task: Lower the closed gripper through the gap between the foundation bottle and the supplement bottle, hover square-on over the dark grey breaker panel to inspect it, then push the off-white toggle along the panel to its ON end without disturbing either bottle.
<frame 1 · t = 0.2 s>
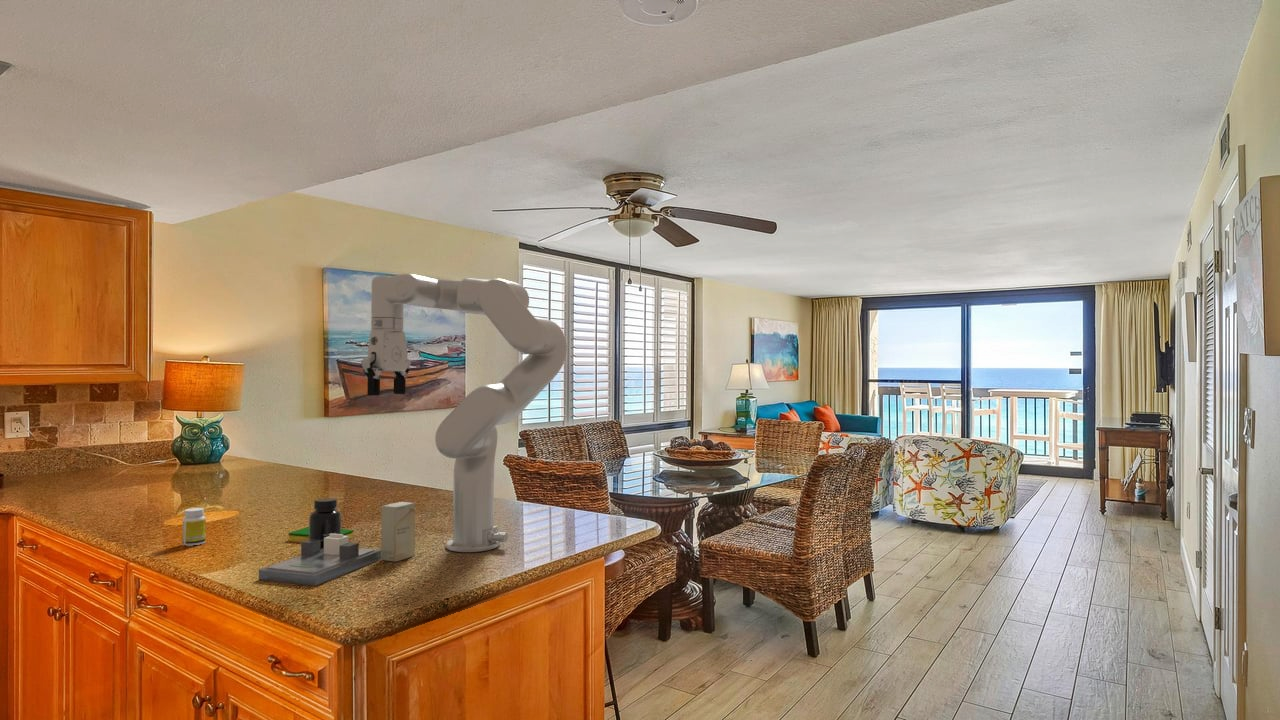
hand: (386, 394, 173), 36 cm above the worktop, tool pointing down, fingers open, 9 cm apart
supplement bottle 2: (194, 544, 169), on the worktop
skincare box: (398, 558, 157), on the worktop
supplement bottle: (324, 551, 163), on the worktop
breaker panel: (323, 568, 148), on the worktop
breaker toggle: (336, 543, 152), point 4 cm above the worktop, slide at 0.0 cm
dish sponge: (321, 541, 174), on the worktop
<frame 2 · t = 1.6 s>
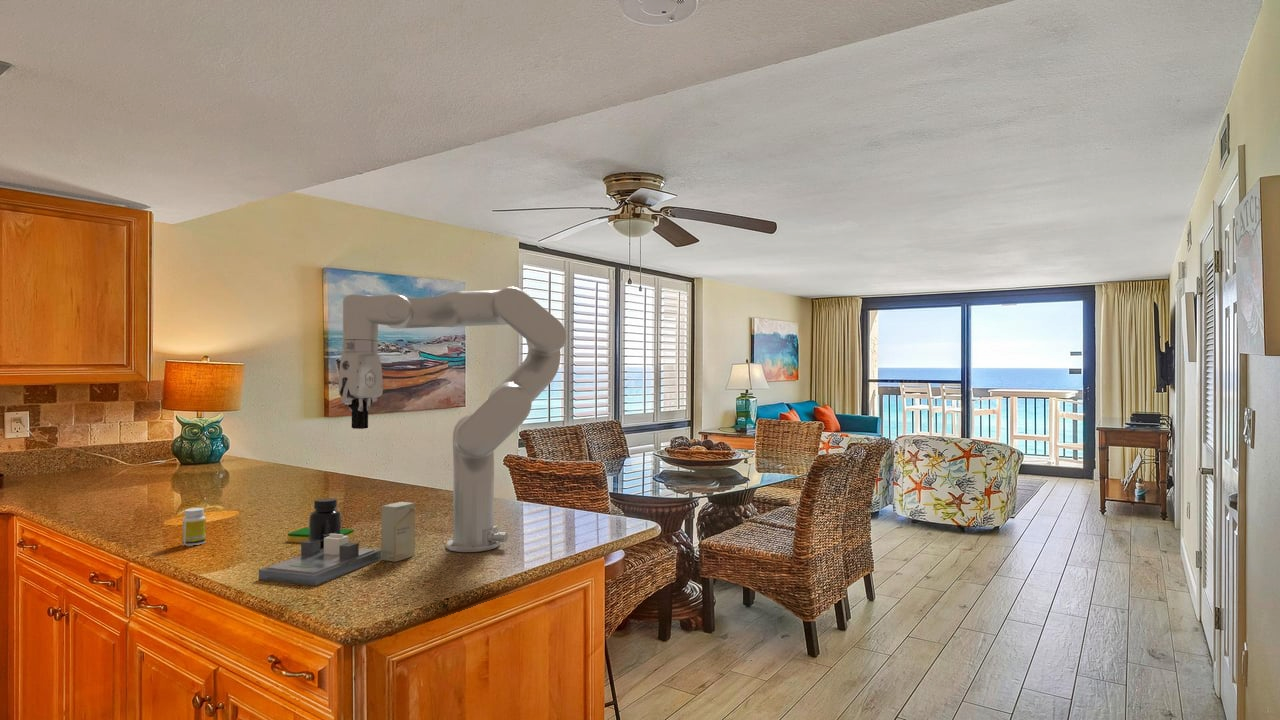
hand: (359, 428, 159), 29 cm above the worktop, tool pointing down, fingers closed
nothing on the worktop moved.
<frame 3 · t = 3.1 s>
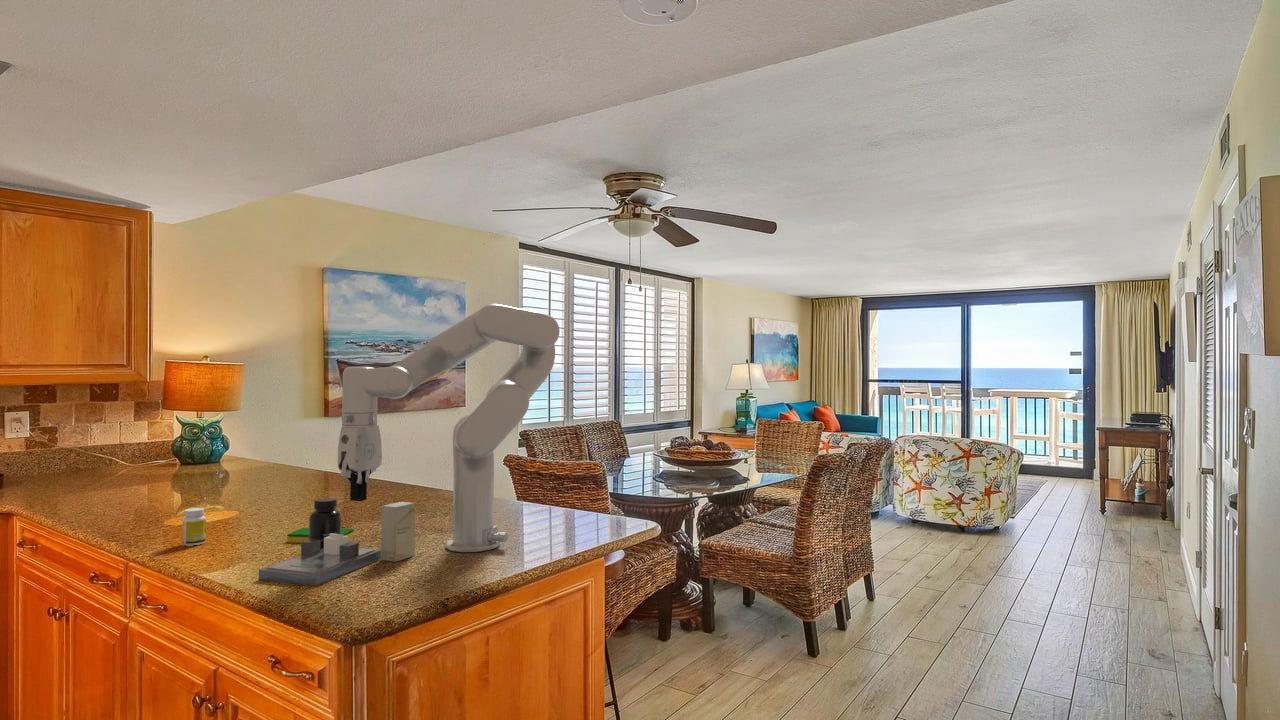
hand: (358, 500, 159), 13 cm above the worktop, tool pointing down, fingers closed
nothing on the worktop moved.
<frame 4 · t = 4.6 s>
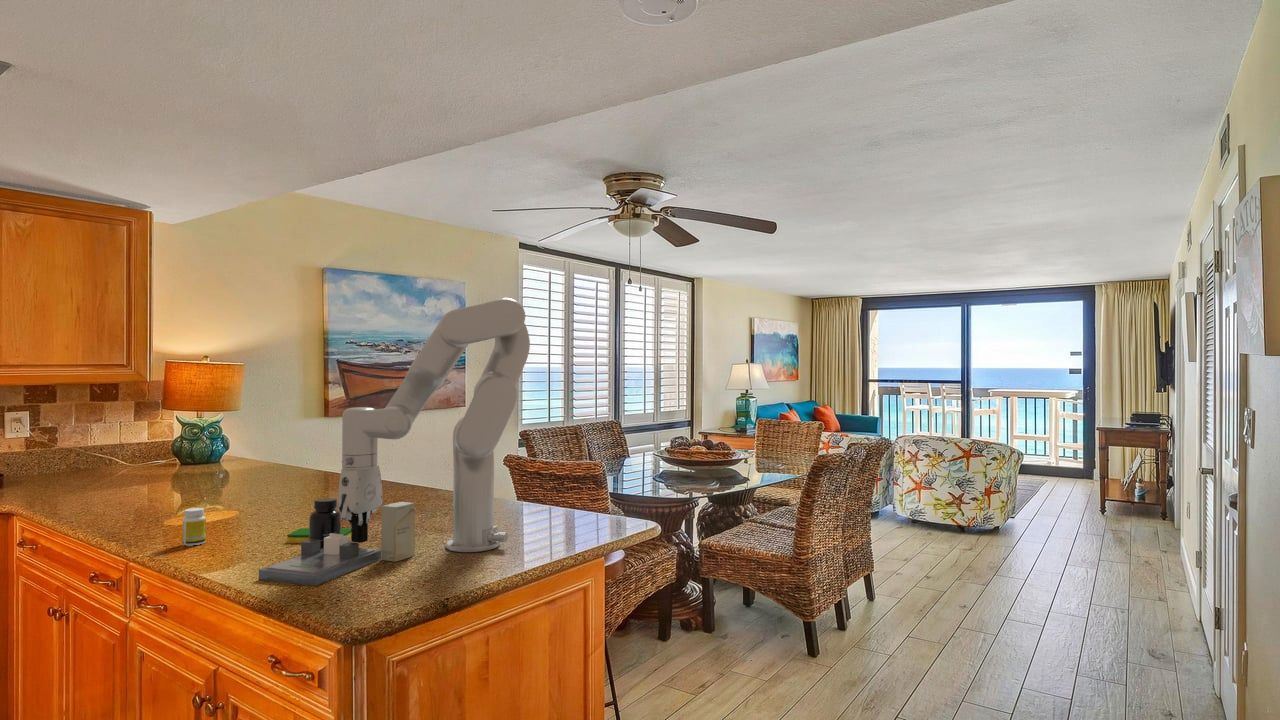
hand: (359, 541, 159), 3 cm above the worktop, tool pointing down, fingers closed
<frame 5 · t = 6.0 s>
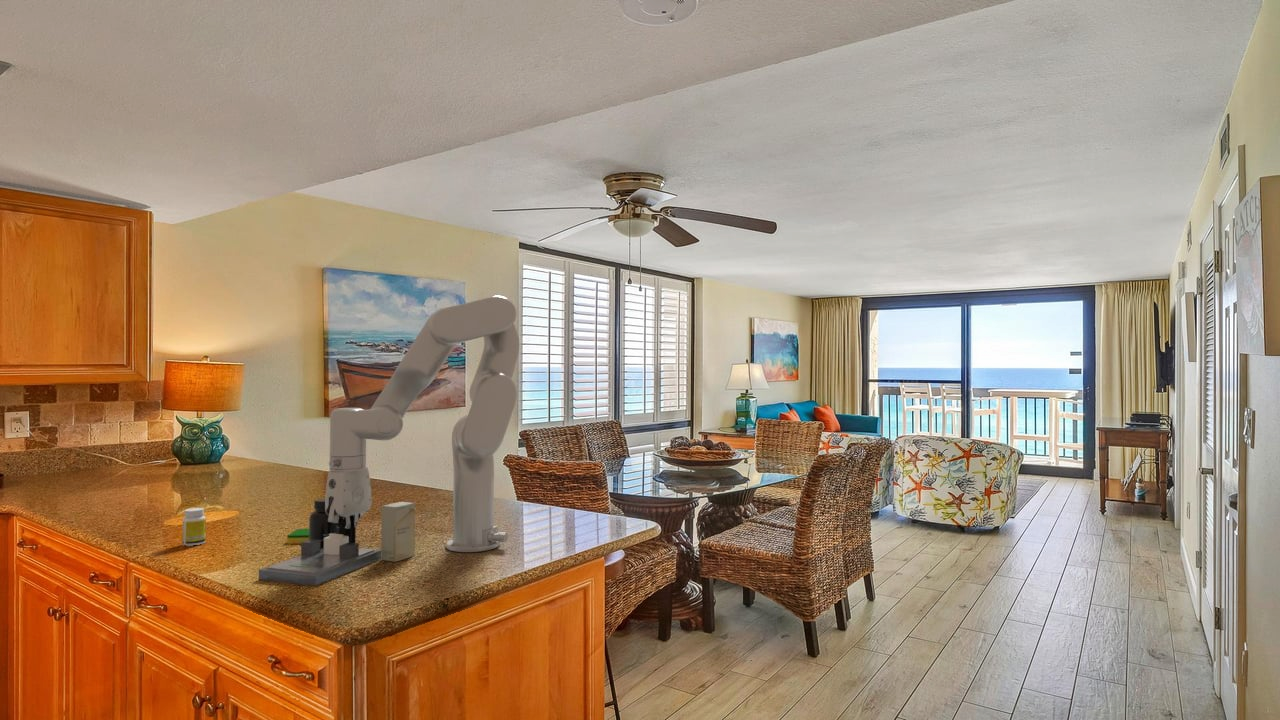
hand: (347, 544, 155), 3 cm above the worktop, tool pointing down, fingers closed
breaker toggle: (336, 543, 152), point 4 cm above the worktop, slide at 0.0 cm, touching gripper
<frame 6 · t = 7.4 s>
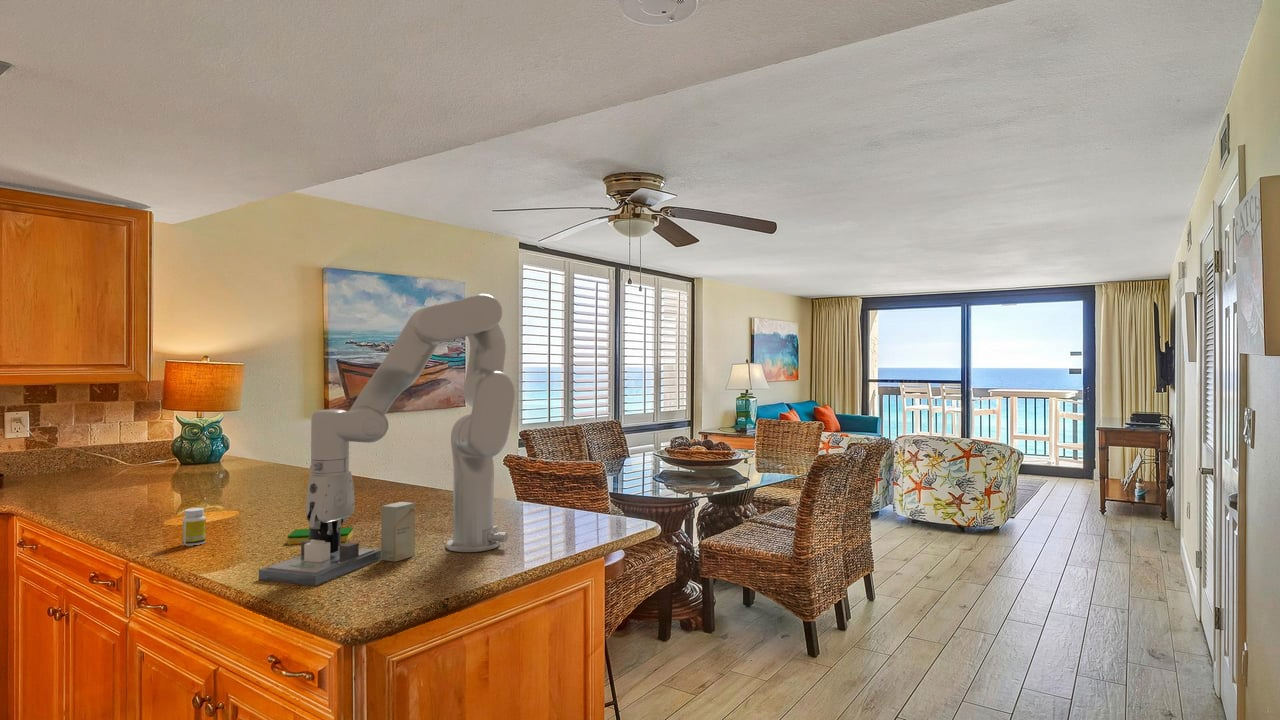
hand: (329, 551, 150), 3 cm above the worktop, tool pointing down, fingers closed
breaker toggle: (317, 550, 147), point 4 cm above the worktop, slide at 5.7 cm, touching gripper
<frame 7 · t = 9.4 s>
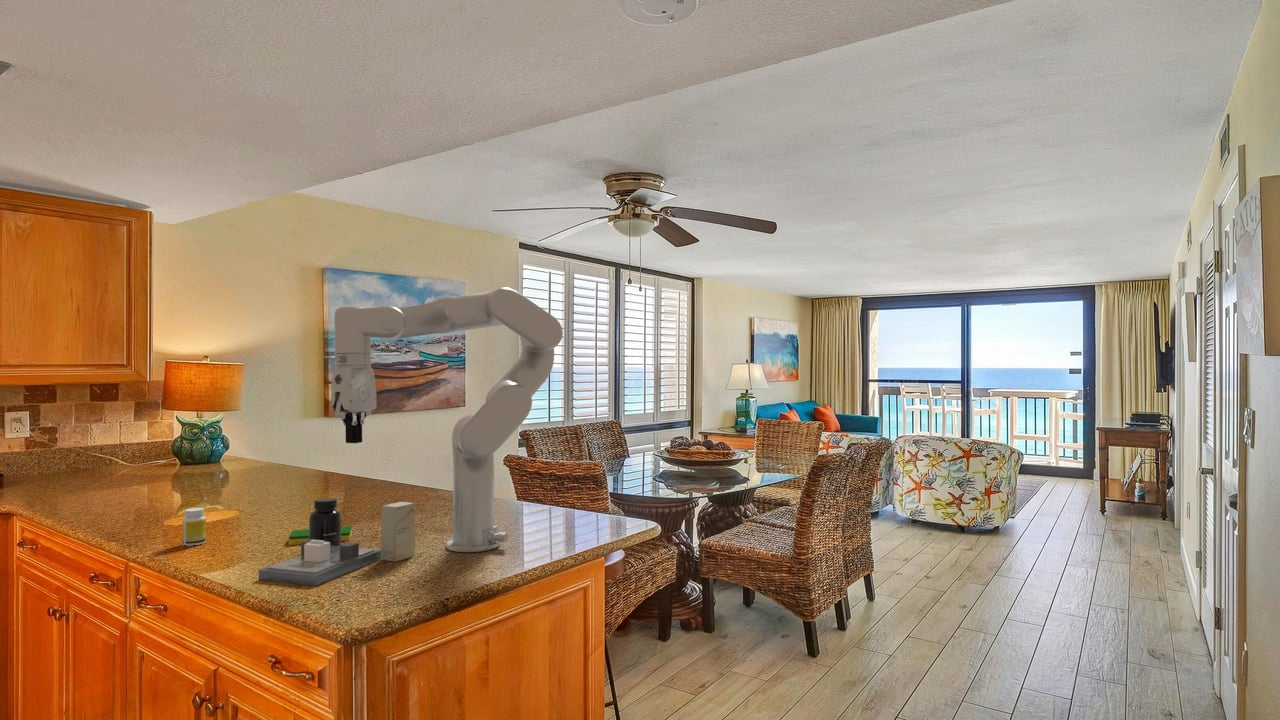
hand: (354, 442, 157), 26 cm above the worktop, tool pointing down, fingers closed
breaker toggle: (317, 550, 147), point 4 cm above the worktop, slide at 5.7 cm
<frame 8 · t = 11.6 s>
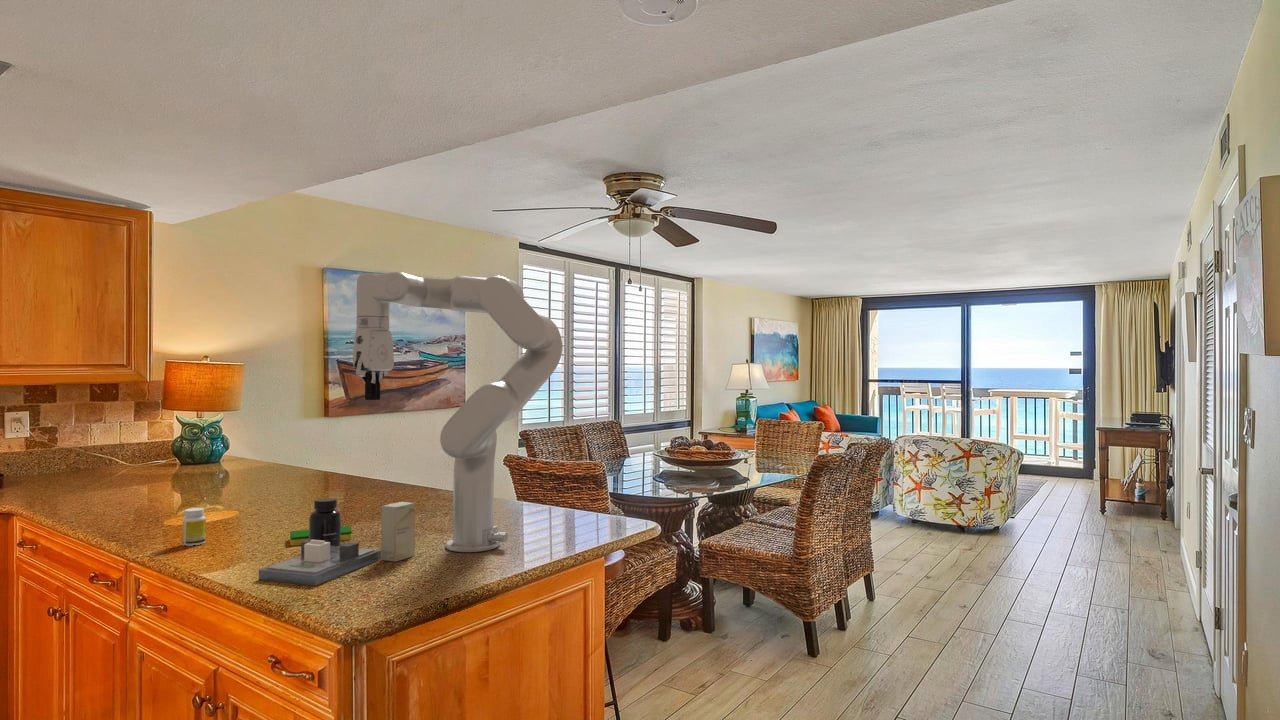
hand: (372, 399, 170), 35 cm above the worktop, tool pointing down, fingers closed
at the end: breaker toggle slide at 5.7 cm; supplement bottle moved 0.2 cm from its start; skincare box moved 0.2 cm from its start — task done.
